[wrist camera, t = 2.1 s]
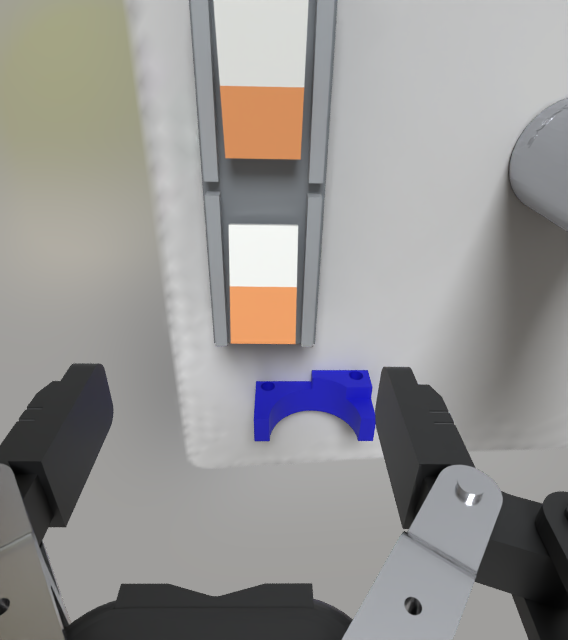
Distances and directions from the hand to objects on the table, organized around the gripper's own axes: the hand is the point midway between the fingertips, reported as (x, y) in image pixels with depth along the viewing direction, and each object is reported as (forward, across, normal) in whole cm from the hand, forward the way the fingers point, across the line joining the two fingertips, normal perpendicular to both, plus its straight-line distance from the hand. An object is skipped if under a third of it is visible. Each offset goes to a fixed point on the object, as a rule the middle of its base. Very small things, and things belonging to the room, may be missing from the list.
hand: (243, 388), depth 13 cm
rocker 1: (+21, 0, -7) cm, 22 cm away
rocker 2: (+21, 0, +7) cm, 22 cm away
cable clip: (+28, -5, +23) cm, 37 cm away
